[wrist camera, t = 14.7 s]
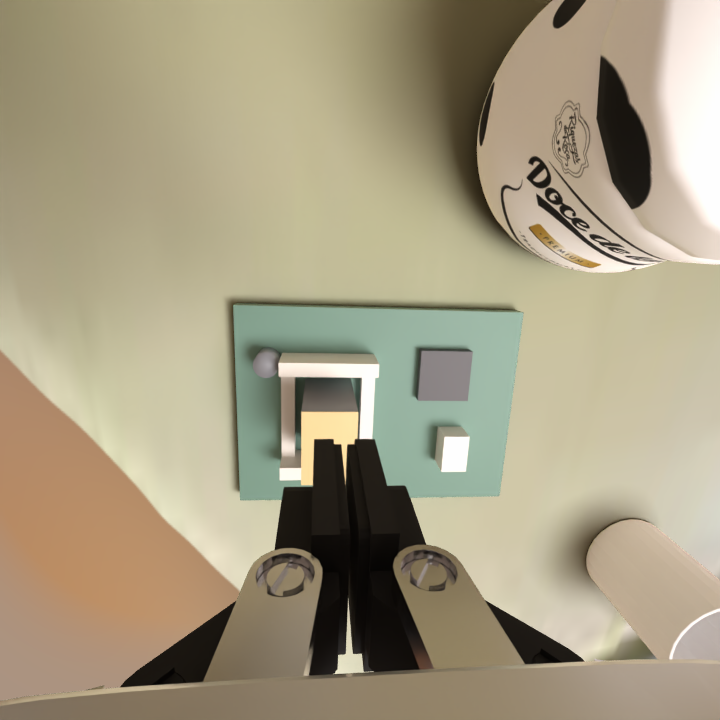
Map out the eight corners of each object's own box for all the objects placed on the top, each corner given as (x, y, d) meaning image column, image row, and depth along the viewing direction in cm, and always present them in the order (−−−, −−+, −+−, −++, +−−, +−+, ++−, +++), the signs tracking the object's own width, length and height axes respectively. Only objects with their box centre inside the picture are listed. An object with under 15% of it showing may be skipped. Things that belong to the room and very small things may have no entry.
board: (236, 303, 33) (224, 310, 29) (516, 310, 35) (542, 318, 31) (242, 492, 37) (232, 522, 33) (493, 488, 39) (514, 516, 35)
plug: (305, 378, 33) (301, 411, 26) (350, 378, 34) (358, 412, 27) (304, 443, 35) (300, 492, 28) (348, 443, 35) (355, 491, 28)
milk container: (468, 282, 34) (624, 319, 16) (454, 26, 29) (647, -296, 12) (679, 254, 35) (1036, 260, 17) (695, 1, 30) (1201, -330, 13)
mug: (571, 544, 41) (654, 642, 31) (645, 503, 41) (754, 588, 30) (618, 628, 44) (706, 742, 34) (687, 591, 44) (798, 694, 34)
